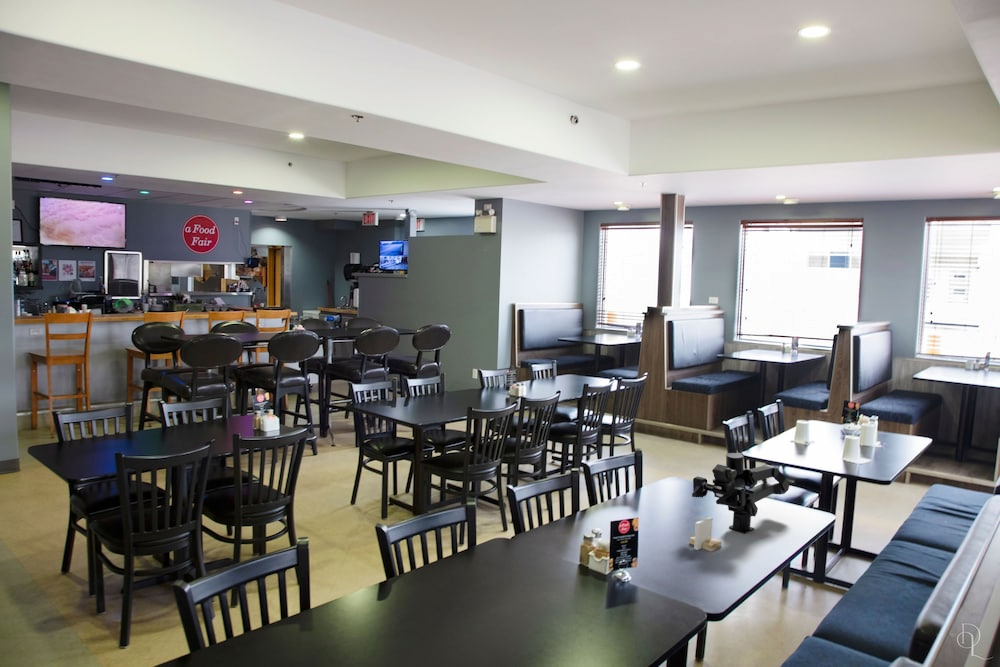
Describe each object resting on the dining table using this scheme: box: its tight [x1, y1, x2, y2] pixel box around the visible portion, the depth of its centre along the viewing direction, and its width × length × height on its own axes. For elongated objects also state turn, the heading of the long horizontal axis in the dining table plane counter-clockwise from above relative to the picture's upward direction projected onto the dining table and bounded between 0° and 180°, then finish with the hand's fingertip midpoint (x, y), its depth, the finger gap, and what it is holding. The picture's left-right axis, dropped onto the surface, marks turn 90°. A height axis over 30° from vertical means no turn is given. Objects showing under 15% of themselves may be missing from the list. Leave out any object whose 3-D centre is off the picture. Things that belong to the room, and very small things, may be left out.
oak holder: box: [689, 535, 722, 552], centre depth 229 cm, size 6×8×2 cm
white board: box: [693, 516, 713, 551], centre depth 228 cm, size 8×1×9 cm, turn 130°
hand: (704, 498), depth 228 cm, fingers open, 9 cm apart
